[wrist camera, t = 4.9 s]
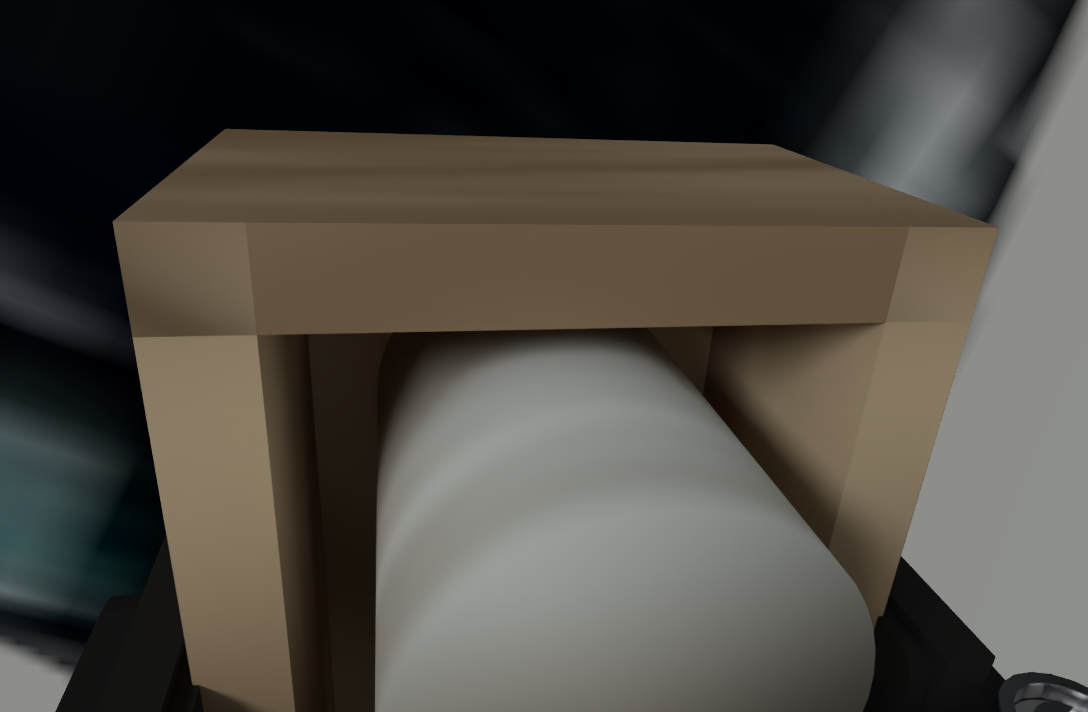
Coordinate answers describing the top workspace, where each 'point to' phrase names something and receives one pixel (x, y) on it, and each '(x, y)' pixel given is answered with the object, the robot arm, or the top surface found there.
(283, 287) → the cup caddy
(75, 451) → the top surface
